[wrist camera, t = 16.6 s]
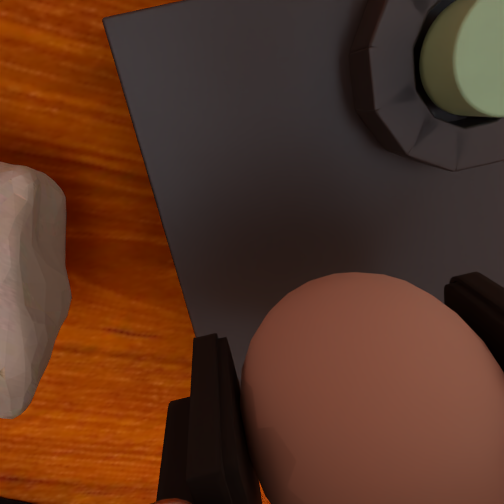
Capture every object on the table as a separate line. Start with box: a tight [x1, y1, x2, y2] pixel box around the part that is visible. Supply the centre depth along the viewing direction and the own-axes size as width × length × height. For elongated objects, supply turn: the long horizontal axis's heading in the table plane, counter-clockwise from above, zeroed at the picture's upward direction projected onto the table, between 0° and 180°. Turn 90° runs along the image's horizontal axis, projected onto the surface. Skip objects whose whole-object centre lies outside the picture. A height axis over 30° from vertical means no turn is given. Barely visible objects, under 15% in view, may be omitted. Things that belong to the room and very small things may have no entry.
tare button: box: [419, 0, 504, 117], centre depth 11 cm, size 3×3×2 cm
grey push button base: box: [102, 0, 504, 388], centre depth 14 cm, size 14×12×4 cm
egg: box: [240, 272, 504, 504], centre depth 9 cm, size 5×5×7 cm
